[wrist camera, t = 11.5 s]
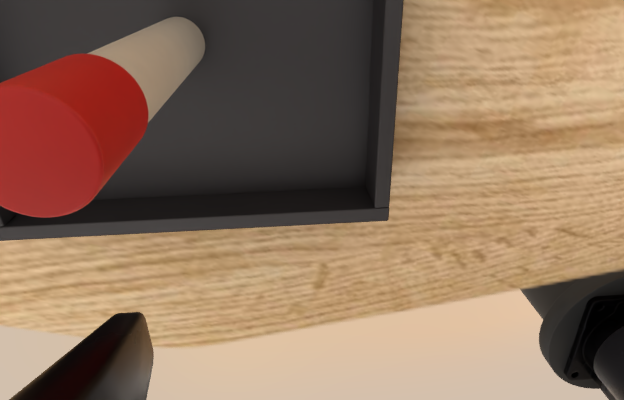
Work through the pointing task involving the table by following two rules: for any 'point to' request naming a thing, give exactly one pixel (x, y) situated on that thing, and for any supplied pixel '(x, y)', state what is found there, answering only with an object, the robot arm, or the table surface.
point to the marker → (87, 116)
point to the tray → (234, 114)
